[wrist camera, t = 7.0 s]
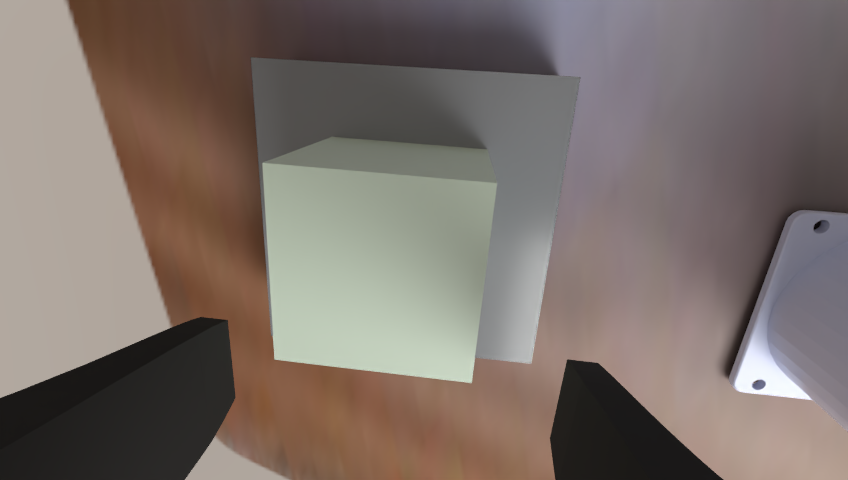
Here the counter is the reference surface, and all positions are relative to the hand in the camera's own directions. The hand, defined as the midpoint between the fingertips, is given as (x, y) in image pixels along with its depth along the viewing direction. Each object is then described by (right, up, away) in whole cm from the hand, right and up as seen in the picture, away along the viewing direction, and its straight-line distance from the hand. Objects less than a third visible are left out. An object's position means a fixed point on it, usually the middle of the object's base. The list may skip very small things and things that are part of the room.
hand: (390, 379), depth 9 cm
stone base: (0, +4, +8) cm, 10 cm away
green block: (0, +4, +5) cm, 7 cm away
